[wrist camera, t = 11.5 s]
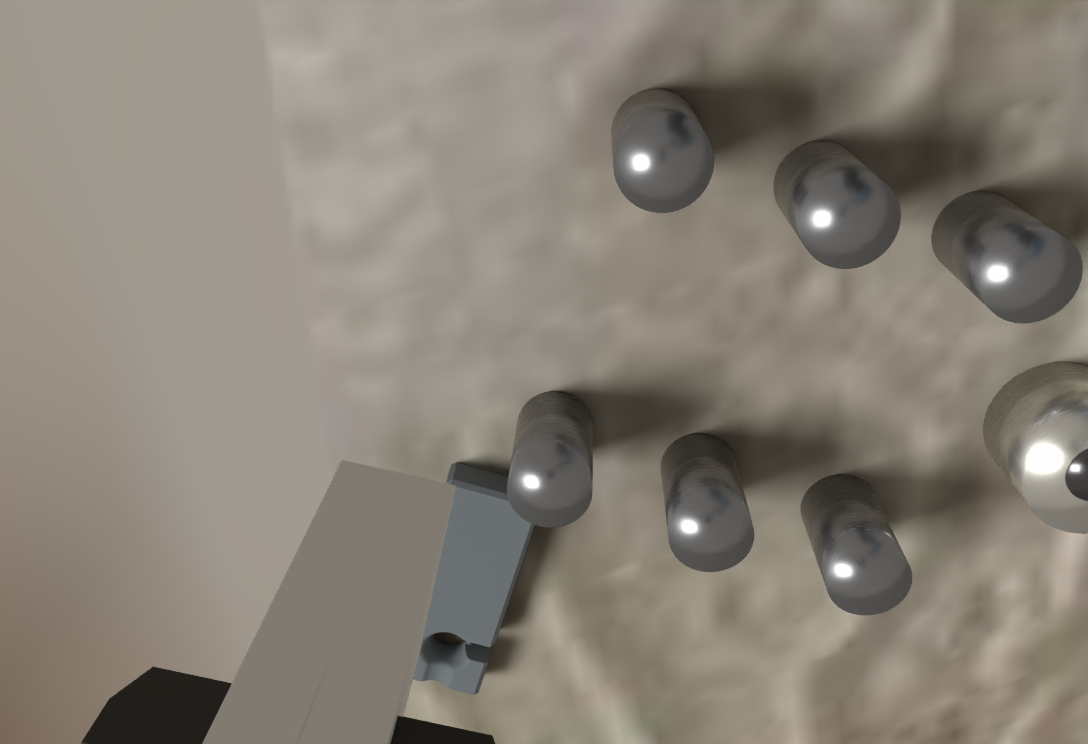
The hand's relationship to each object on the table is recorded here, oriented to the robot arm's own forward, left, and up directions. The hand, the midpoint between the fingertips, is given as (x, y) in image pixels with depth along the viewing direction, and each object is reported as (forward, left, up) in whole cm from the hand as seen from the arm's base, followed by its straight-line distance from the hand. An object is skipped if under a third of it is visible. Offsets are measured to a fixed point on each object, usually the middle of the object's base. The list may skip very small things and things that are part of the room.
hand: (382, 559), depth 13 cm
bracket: (+17, +3, -24) cm, 30 cm away
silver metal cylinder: (+3, +22, -24) cm, 33 cm away
